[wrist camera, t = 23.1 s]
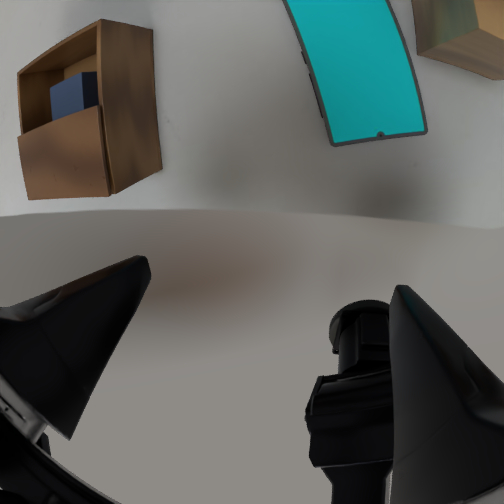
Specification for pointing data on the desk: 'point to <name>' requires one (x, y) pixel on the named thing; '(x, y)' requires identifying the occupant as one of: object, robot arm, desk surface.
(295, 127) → the desk surface
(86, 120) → the flap
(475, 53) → the brown rectangular block
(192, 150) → the desk surface
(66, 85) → the block
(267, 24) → the desk surface
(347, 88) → the smartphone
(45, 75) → the carton
